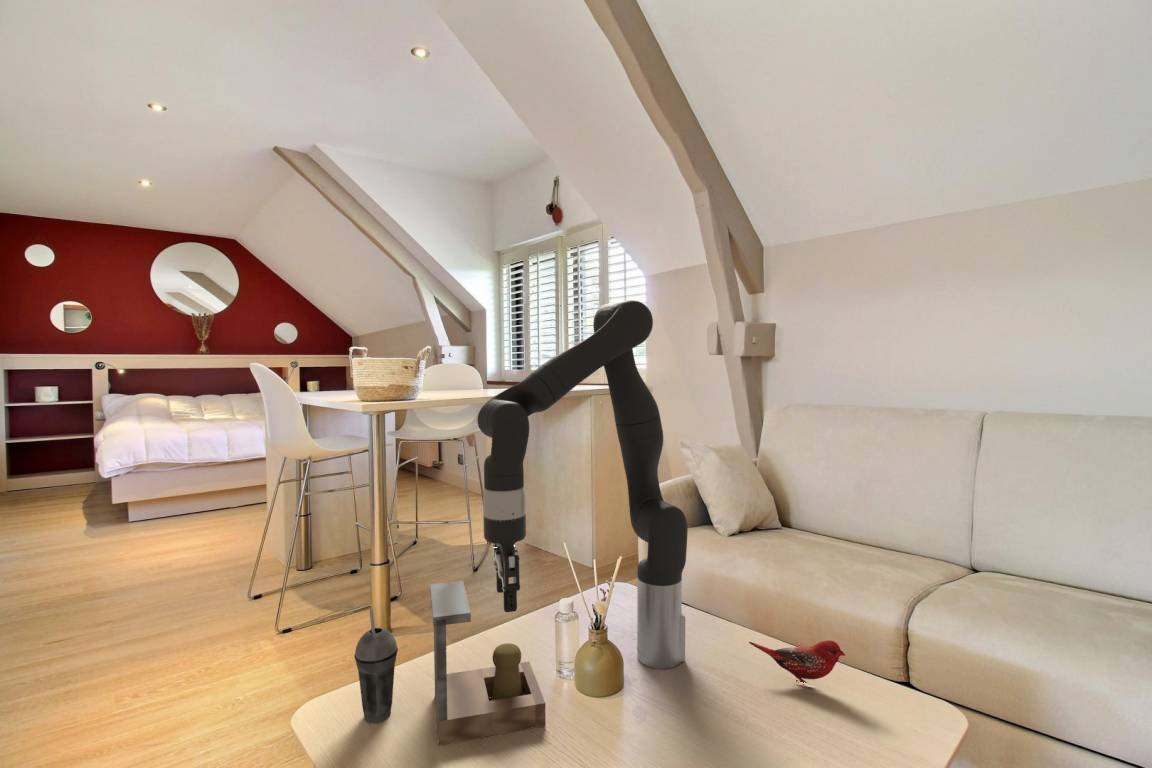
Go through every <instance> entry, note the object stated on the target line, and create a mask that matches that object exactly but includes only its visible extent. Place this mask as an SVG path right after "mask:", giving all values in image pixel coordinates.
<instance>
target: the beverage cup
mask: <svg viewBox="0 0 1152 768" xmlns="http://www.w3.org/2000/svg"><path fill="white" fill-rule="evenodd" d="M368 609H369V618H370V626H371V627H370V629H369V630H367V631H366V632H365V633H364V634H362V636H360V638H359V640H358V642H357V644H356V646H355V651H354V660H355V664H356V668H357V672H358V678H359V679H358V681H359V690H360V697H361V706H362V712H363V718H364V719H363V720H364V721H365V723H367V724H380V723H383V722H385V721H387V720H388V719H389V718H390V717H391V714H392V706H393V697H394V696H393V695H394V683H395V682H394V681H395V680H394V679H395V678H394V677H395V667H396V661H397V655H398V651H399V648H398V645H397V640H396V638H395V636H394V635H393V633H392V632H391V631H390V630H388V629H386V628H382V627H375V619H374V610H373V607H369V608H368Z"/></svg>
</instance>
